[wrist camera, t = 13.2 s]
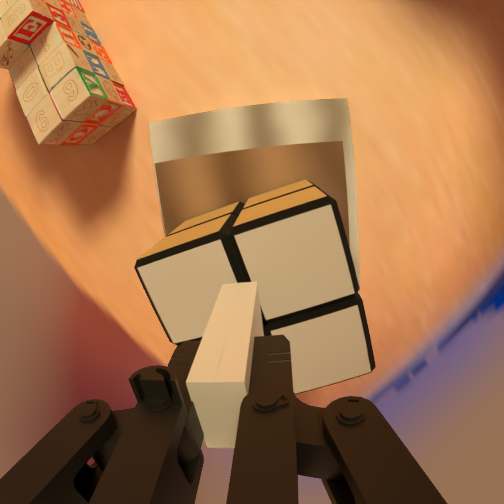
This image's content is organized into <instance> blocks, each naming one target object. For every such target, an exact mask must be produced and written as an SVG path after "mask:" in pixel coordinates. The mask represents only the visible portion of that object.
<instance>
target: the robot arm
mask: <svg viewBox="0 0 504 504" xmlns="http://www.w3.org/2000/svg"><path fill="white" fill-rule="evenodd" d="M129 381H130V384H131V386H132V389H133V392H134V394H135V396H136V399H137V401H138V403H137V405H136V406H135V408H131V409H125V410H117V411H111V409H110V407H109V405H108V403H106V402H104V401H103V400H97V399H94V400H87V401H85V402H82V403H80V404H79V405H77V406H76V407H74V408H73V409H72V410H71V411H70V412H69V413H68V414H67V415H66V416H65V417H64V418H63V419H62V420H61V421H60V422H59V423H58V424H57V425H56V426H55V427H54V428H53V429H52V430H50V431H49V432H48V433H47V434H46V435H45V436H44V437H43V438H42V439H41V440H40V441H39V442H38V443H37V444H36V445H35V446H34V447H33V448H32V449H31V450H30V451H29V452H28V453H27V454H26V455H25V456H23V457H22V458H21V459H20V460H19V461H18V463H16V464H15V465H14V466H13V467H12V468H11V469H10V470H9V471H8V472H7V473H6V474H5V475H4V476H3V477H2V478H1V479H0V504H194V503H195V499H196V494H197V490H198V485H199V480H200V476H201V471H202V467H203V462H204V457H203V453H202V450H201V445H202V441H203V438H204V440H205V443H206V446H207V447H208V448H235V449H234V455H233V462H232V469H231V476H230V483H229V490H228V496H227V503H226V504H298V475H303V476H309V477H314V478H321V479H322V482H323V484H324V487H325V489H326V491H327V493H328V496H329V498H330V500H331V502H332V504H447V503H446V501H445V500H444V498H443V497H442V496H441V494H440V493H439V492H438V490H437V489H436V487H435V486H434V485H433V483H432V482H431V481H430V479H429V478H428V476H427V475H426V474H425V472H424V471H423V470H422V468H421V467H420V466H419V464H418V463H417V461H416V460H415V459H414V457H413V456H412V455H411V453H410V452H409V451H408V449H407V448H406V446H405V445H404V444H403V442H402V441H401V440H400V438H399V437H398V436H397V434H396V433H395V432H394V430H393V429H392V427H391V426H390V425H389V423H388V422H387V421H386V419H385V418H384V417H383V415H382V414H381V412H380V411H379V410H378V408H377V407H376V406H375V405H374V404H373V403H372V402H371V401H369V400H367V399H364V398H362V397H354V396H349V397H343V398H339V399H337V400H335V401H333V402H331V403H330V404H329V405H328V406H327V407H326V408H320V407H314V406H310V405H307V404H305V403H303V402H301V401H300V400H299V399H297V397H296V396H295V394H294V391H293V378H292V363H291V349H290V342H289V340H288V339H287V338H286V337H285V336H284V335H271V336H264V333H263V324H262V316H261V308H260V299H259V291H258V283H257V281H256V282H244V283H232V284H222V287H221V290H220V292H219V295H218V298H217V300H216V303H215V305H214V308H213V311H212V313H211V316H210V319H209V321H208V324H207V327H206V329H205V332H204V335H203V337H202V340H199V341H184V342H183V343H182V344H181V345H179V346H178V347H177V348H176V349H175V351H174V353H173V355H172V357H171V359H170V361H169V364H168V367H166V366H158V365H157V366H149V367H146V368H143V369H140V370H138V371H137V372H135V373H133V374H132V376H131V377H130V378H129ZM91 457H92V458H93V459H94V461H95V462H94V463H93V464H92V465H87V462H88V460H89V459H90V458H91Z"/></svg>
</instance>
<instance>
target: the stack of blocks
mask: <svg viewBox="0 0 504 504" xmlns="http://www.w3.org/2000/svg"><path fill="white" fill-rule="evenodd" d="M0 68H4V69H8V70H9V73H10V76H11V78H12V81H13V84H14V87H15V89H16V94H17V97H18V99H19V102H20V105H21V107H22V110H23V112H24V115H25V117H26V118H27V120H28V122H29V125H30V127H31V129H32V132H33V134H34V136H35V138H36V141H37V143H38V144H39V145H51V144H52V145H55V144H59V145H77V144H78V145H86V144H94V143H95V142H96V141H97V140H98V139H100V138H101V137H102V136H103V135H104V134H106V133H107V132H108V131H109V130H111V129H112V128H113V127H115V126H116V125H117V124H119V123H120V122H121V121H123V120H124V119H125V118H126V117H128V116H129V115H130V114H131V113H133V112H134V111H135V110H136V107H135V105H134V103H133V102H132V100H131V98H130V97H129V95H128V93H127V91H126V90H125V88H124V87H123V86H124V84H123V82H122V81H121V79H120V77H119V75H118V73H117V72H116V70H115V68H114V66H113V65H112V62H111V60H110V59H109V57H108V55H107V53H106V51H105V49H104V47H103V46H102V45H101V43H100V41H99V40H98V38H97V36H96V34H95V32H94V30H93V29H92V27H91V25H90V23H89V21H88V19H87V17H86V15H85V12H84V10H83V8H82V6H81V4H80V2H79V0H0Z"/></svg>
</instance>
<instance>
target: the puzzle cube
mask: <svg viewBox="0 0 504 504" xmlns="http://www.w3.org/2000/svg"><path fill="white" fill-rule="evenodd" d="M134 268H135V270H136V272H137V275H138V277H139V279H140V281H141V283H142V286H143V288H144V290H145V292H146V294H147V296H148V298H149V300H150V303H151V305H152V307H153V309H154V311H155V313H156V315H157V317H158V319H159V321H160V323H161V325H162V327H163V329H164V331H165V333H166V335H167V337H168V339H169V341H170V342H171V343H173V344H176V345H178V346H179V345H181V344H182V343H183V342H184V341H199V340H202V337H203V335H204V332H205V329H206V327H207V324H208V321H209V319H210V316H211V313H212V311H213V308H214V305H215V303H216V300H217V298H218V295H219V292H220V290H221V287H222V284H232V283H244V282H256V281H257V283H258V291H259V299H260V308H261V316H262V324H263V333H264V336H271V335H284V336H285V337H286V338H287V339H288V340H289V342H290V349H291V363H292V378H293V391H294V394H299V393H303V392H306V391H310V390H314V389H318V388H321V387H325V386H329V385H332V384H336V383H339V382H342V381H346V380H349V379H352V378H355V377H359V376H362V375H365V374H368V373H371V372H372V371H373V369H374V368H375V367H376V366H375V361H374V355H373V350H372V345H371V339H370V334H369V329H368V324H367V320H366V315H365V310H364V306H363V301H362V299H361V297H360V295H359V293H358V291H359V289H360V288H359V284H358V279H357V275H356V271H355V267H354V263H353V259H352V255H351V251H350V248H349V244H348V240H347V236H346V233H345V229H344V225H343V222H342V218H341V215H340V211H339V208H338V204H337V201H336V200H335V199H334V198H332V197H331V196H330V195H328V194H327V193H326V192H324V191H323V190H321V189H320V188H319V187H318V186H316V185H315V184H313V183H312V182H310V181H308V180H306V179H305V180H302V181H299V182H296V183H293V184H290V185H287V186H283V187H280V188H277V189H274V190H271V191H268V192H265V193H263V194H260V195H257V196H254V197H251V198H248V200H247V202H246V203H245V204H244V203H242V202H240V201H239V202H236V203H233V204H231V205H228V206H225V207H222V208H219V209H217V210H214V211H211V212H208V213H206V214H203V215H200V216H197V217H195V218H192V219H189V220H186V221H185V222H183V223H182V224H181V225H180V226H178V227H177V228H176V229H175V230H173V231H172V232H171V233H170V234H168V236H167V237H165V238H164V239H162V240H161V241H160V242H159V243H157V244H156V245H155V246H154V247H152V248H151V249H150V250H149V251H147V252H146V253H145V254H144V255H142V256H141V257H140V258H139V259H137V261H136V264H135V267H134ZM178 346H177V347H178Z"/></svg>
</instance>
